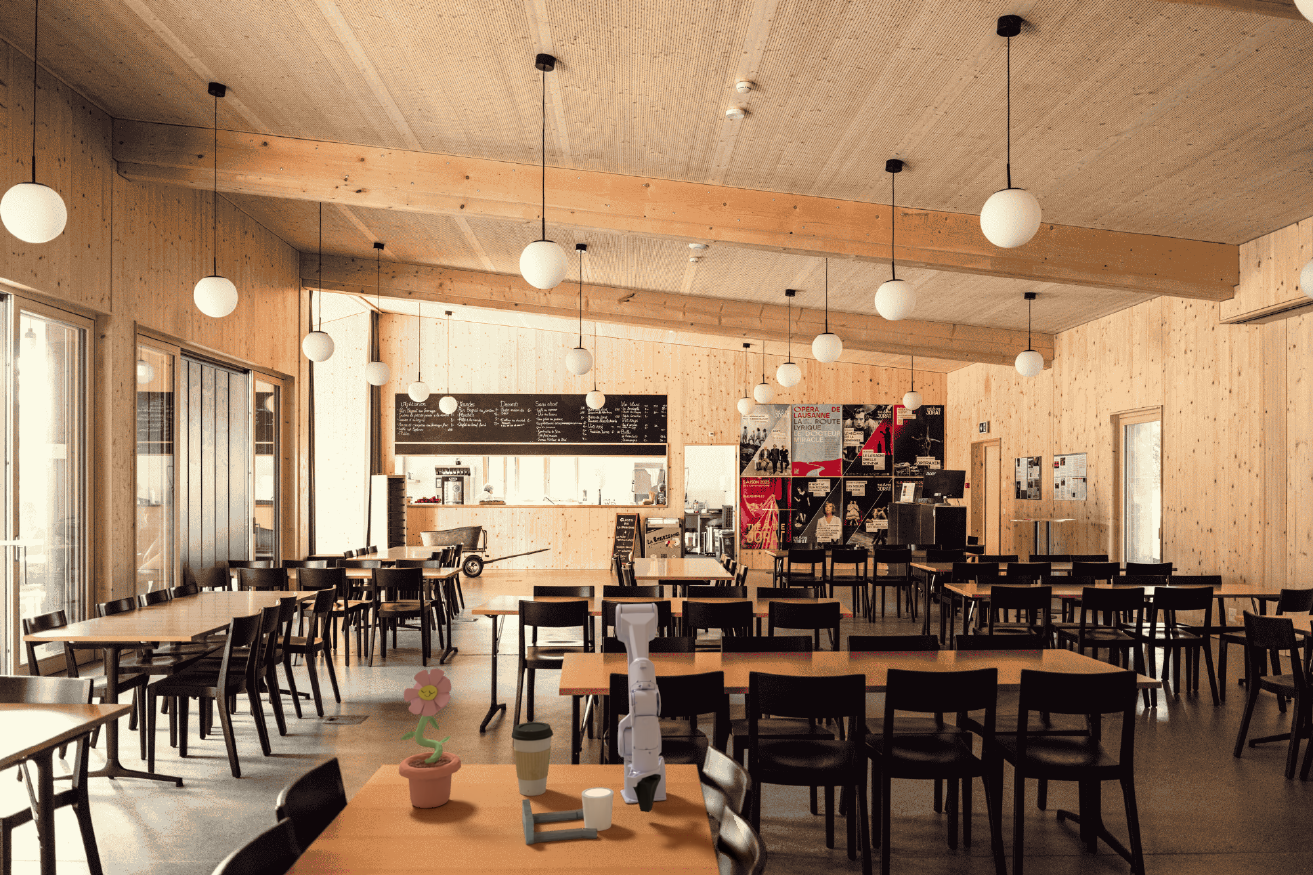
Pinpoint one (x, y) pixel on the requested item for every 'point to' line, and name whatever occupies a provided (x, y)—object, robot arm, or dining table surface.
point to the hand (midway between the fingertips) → (645, 810)
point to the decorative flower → (429, 743)
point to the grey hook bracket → (554, 835)
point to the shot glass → (597, 807)
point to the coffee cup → (532, 756)
